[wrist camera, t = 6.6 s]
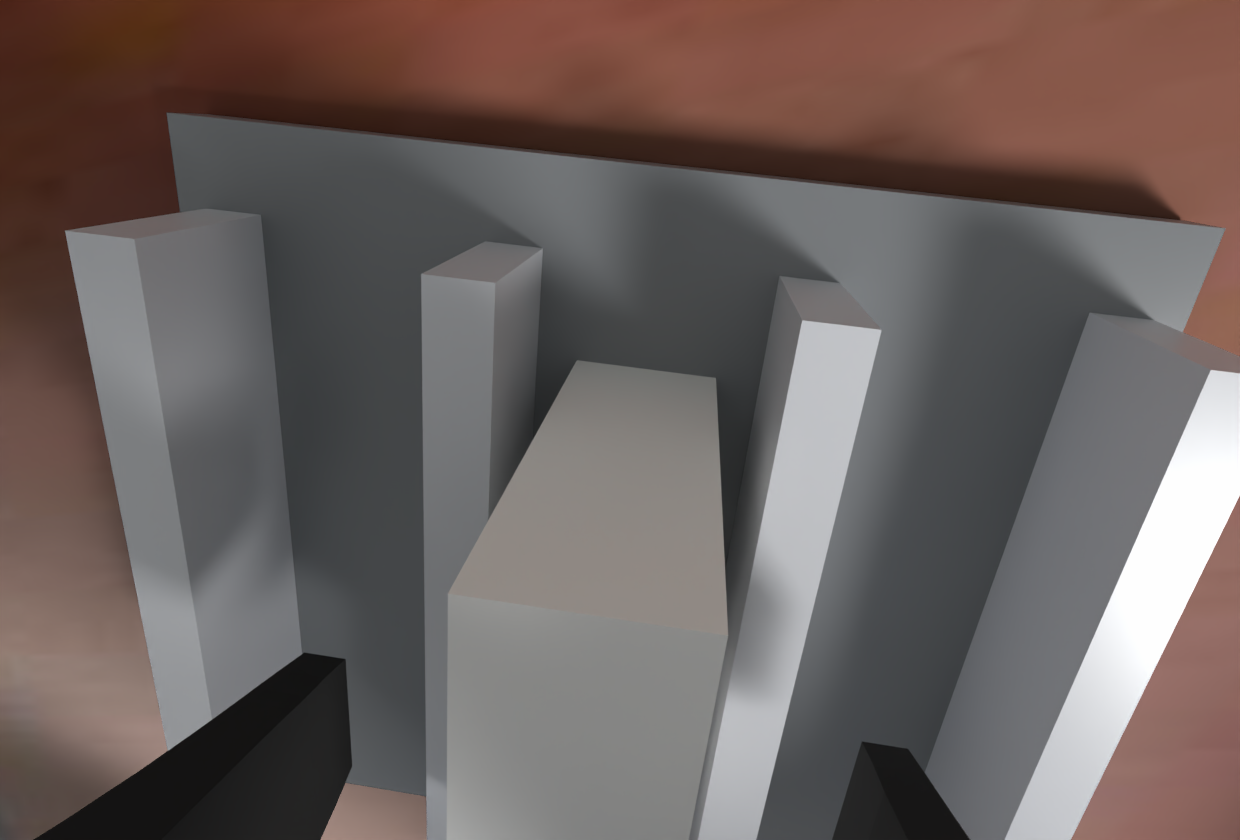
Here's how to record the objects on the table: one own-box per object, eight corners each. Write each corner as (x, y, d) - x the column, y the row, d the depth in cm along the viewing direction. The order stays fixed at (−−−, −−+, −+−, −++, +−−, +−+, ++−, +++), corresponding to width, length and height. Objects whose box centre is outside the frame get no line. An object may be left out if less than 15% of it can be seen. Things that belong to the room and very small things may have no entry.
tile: (662, 719, 16) (632, 1129, 9) (550, 701, 16) (445, 1093, 9) (716, 378, 13) (728, 635, 6) (577, 360, 13) (448, 594, 6)
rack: (940, 845, 18) (1002, 1036, 14) (277, 735, 19) (172, 885, 15) (1185, 220, 12) (1402, 262, 8) (204, 114, 13) (4, 107, 9)
